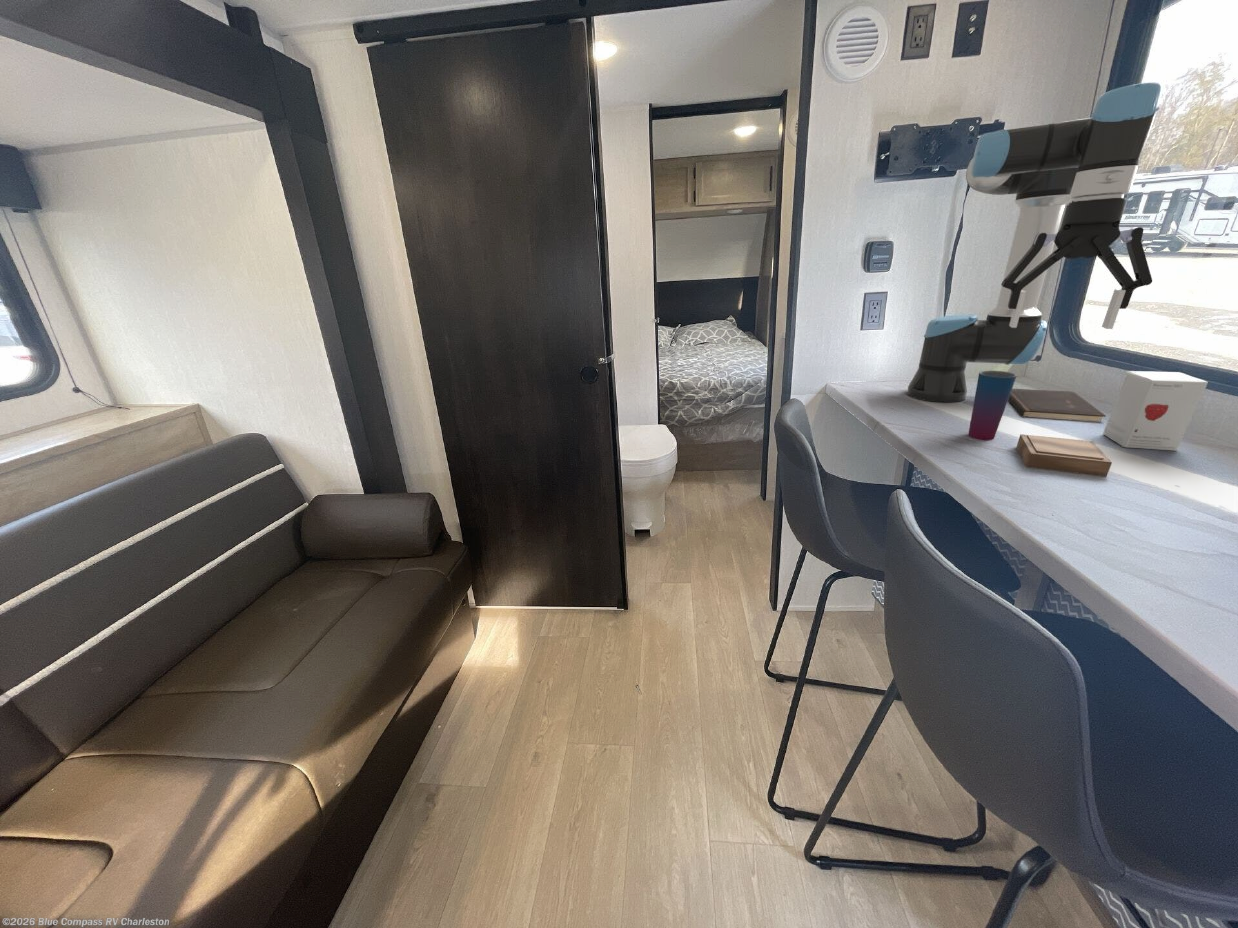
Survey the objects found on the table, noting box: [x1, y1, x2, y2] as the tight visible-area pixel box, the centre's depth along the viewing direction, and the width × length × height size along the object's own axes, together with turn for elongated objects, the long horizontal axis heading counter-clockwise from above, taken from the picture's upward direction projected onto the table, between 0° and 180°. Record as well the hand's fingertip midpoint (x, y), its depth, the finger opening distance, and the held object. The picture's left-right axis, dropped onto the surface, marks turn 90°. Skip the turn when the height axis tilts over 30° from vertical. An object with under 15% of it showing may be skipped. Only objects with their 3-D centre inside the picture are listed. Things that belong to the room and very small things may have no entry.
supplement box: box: [1102, 370, 1209, 452], centre depth 102 cm, size 9×9×15 cm
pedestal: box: [1016, 433, 1113, 477], centre depth 98 cm, size 12×12×3 cm
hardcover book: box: [1007, 388, 1106, 423], centre depth 130 cm, size 16×23×2 cm
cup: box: [967, 370, 1018, 441], centre depth 110 cm, size 7×7×15 cm
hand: (1058, 327), depth 89 cm, fingers open, 13 cm apart
